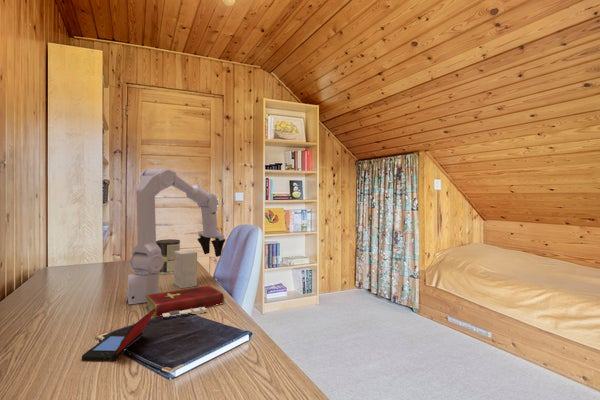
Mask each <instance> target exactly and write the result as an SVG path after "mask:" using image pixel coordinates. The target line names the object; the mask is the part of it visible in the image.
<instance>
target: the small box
mask: <svg viewBox="0 0 600 400" xmlns="http://www.w3.org/2000/svg"><path fill="white" fill-rule="evenodd" d="M173 285H175V286H176V287H178V288H179V289H188V288H194V287H198V286H197V285H198V252H197V251H194V250H191V249H185V250H180V251H174V273H173Z"/></svg>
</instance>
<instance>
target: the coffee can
mask: <svg viewBox="0 0 600 400" xmlns="http://www.w3.org/2000/svg"><path fill="white" fill-rule="evenodd" d="M180 243H181V240H180V239H176V238H175V239H172V238H171V239H167V238H165V239H159V240H156V244H157V245H158V246H159V247H160V249H161V254H162V257H163V259H164V264H163V267H162V269H161V270H160V272H159V275H171V274H174V251H181V250H180V249H181V248H180V246H181V244H180Z"/></svg>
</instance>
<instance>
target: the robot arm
mask: <svg viewBox="0 0 600 400" xmlns="http://www.w3.org/2000/svg"><path fill="white" fill-rule="evenodd" d="M170 187H174V188H175V189H177V190H179V191H182V192H184V193H185V195H186V197H187V198H188V199H189V200H191V201H192V202H194V203H196V205H197V206H198V208H200V209H201V212H200V213H201V221H202V230H201V231H198V232H197V234H198V237H199V238H197V241H198V243H199V244H200V246H201V248H202V251H203V254H204V255H208V254H210V251H211V249H210V244H211V243H212V246H213V249H214V255H215V257H217V258H219V257H222V252H223V247H224V244H225V242H226V238H225V235H224V234H223V233H220V231H218V222H217V221H218V220H217V211H218V205H219V199H218V198H217V196H216V195H215V194H213V193H209V191H208V190H205V189H202V188H201V185H199V184H190V183H189V182H188V181H186V180H185V179H183V178H182V177H180V176H179V175H178V174H177V172H176V171H174V170H172V169H170V168H168V167H167V168H148V169H147V168H146V169H145V170H144V171H143V172H141V173H140V174H139V182H138V185H137V188H136V192H135V196H136V199H135V200H136V201H135V202H136V224H137V225H136V227H137V229H136V230H137V244H136V245H135V246H134V247H133V248H132V250H131V251H132V252H131V253H132V254H131V256H130V259H129V265H130V267H131V268H132V269H133V273H131V274H130V273H129V274H128V275H127V286H126V287H127V288H126V289H127V291H126V299H127V303H128V305H136V304H145V303H147V297H146V295H149V294H155V293H159V280H160V279H159V275H160V274H159V272H160V270H161V269H162V267H163V264H164V259H163V257H162V254H161V249H160V247H159V246H158V245H157V244H156V241H157V233H156V232H157V231H156V229H157V227H156V226H157V225H156V196H157V195H158V194H159V193H160V192H161V191H163V190H165V189H166V190H167V189H168V188H170ZM211 239H213V240H211Z"/></svg>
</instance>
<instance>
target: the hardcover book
mask: <svg viewBox="0 0 600 400" xmlns="http://www.w3.org/2000/svg"><path fill="white" fill-rule="evenodd" d="M146 297H147V302H146V307H147V308H148V309H149V310H150V312H151V311H152V310H153V309H156V310H155V312H154V314H153V316H154V318H158V317H157V316H160V315H162V314H163V313H169V311H176V310H178V311H180V310H188V309H190V308H192V309H195V308H199V307H206V308H208V307H207V306H211V307H214V306H213V305H216V304H220V303H224V304H225V293H224V292H223V291H221V290H220V289H217V288H216V287H214V286H213V285H211V284H208V285H203V286H202V285H201V286H193V287H187V288H180V289H177V290H171V291H169V290H168V291H162V292H158V293H155V294H149V295H146ZM216 306H217V305H216ZM160 317H161V316H160Z"/></svg>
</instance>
